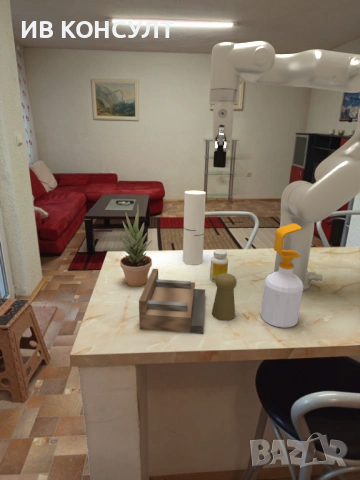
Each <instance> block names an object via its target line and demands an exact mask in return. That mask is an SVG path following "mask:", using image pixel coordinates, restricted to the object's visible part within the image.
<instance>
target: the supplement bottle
mask: <svg viewBox="0 0 360 480" xmlns="http://www.w3.org/2000/svg"><path fill="white" fill-rule="evenodd" d="M227 254H228V253H227V250H225V249H214V251H213V255H212V257H211V258H210V268H209V270H210V271H209V280H210V281H211V282H213V283H215V280H216V277H217V276H218V275H219V274H222V273H228V270H229V269H228V268H229V259H228V257H227Z"/></svg>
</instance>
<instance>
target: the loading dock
mask: <svg viewBox="0 0 360 480" xmlns="http://www.w3.org/2000/svg"><path fill="white" fill-rule="evenodd" d="M205 297H206V289H204V288H202V289H201V288H200V289H199V288H196V282H194V281H193V282H192V281H189V280H172V279H159V268H152V270H151V272H150V274H149V277H148V278H147V282H146V283H145V286H144V288H143V290H142V293H141V295H140V298H139V299H138V317H139V319H138V320H139V321H138V322H139V324H138V325H139V329H140V330H151V331H164V332H178V333H189V334H190V333H191V334H202V335H203V334H204V321H205V319H204V318H205V302H206V298H205Z"/></svg>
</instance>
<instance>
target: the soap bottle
mask: <svg viewBox="0 0 360 480" xmlns="http://www.w3.org/2000/svg"><path fill="white" fill-rule="evenodd" d="M301 229H302V228H301V227H300V226H299V225H297V224H295V223H293V224H289V225H286V226H283V227H280V226H279V227H278V228H277V229H276V230H275V234H274V241H273V242H274V243H273V249H274V251H275V252H277V253H278V254H279V255H280V256H281V258H282V259H284V260H283V262H280V263H279V269H278V271H277V272H274V271H273V273H272V272H271V273H272V274H270V273H269V274H270V275H269V274H268V275H267V276H266V278H265V280H264V282H263V290H262V291H263V292H262V300H261V307H260V308H261V309H260V316H261V318H262V320H263V321H264V322H265V323H267V324H268V325H271V326H274V327H277V328H292V327H295V325H297V324H298V322H299V321H298V320H299V316H300V309H301V303H302V298H303V292H304V291H303V283H302V281H301V280H300V279H299V278H298V277H297V276H296V275H294V274H293V267H294V265H293V264H292V263H291V260H293V259H294V258H299V257H300V255H299V254H298V253H297V252H296V251H294V250H282V248H283V241H284V237H285V236H286V235H287V234H290V233H293V232H296V231H299V230H301Z"/></svg>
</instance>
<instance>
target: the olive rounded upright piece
mask: <svg viewBox="0 0 360 480" xmlns="http://www.w3.org/2000/svg"><path fill="white" fill-rule="evenodd" d="M237 282H238V281H237V278H236V277H235V276H234V275H233V274H231V273H228V272H227V273H222V274H219V275H218V276H217V277H216V280H215V282H214V284H215V287H216V290H215V291H216V292H215V295H214V299H213V300H214V301H213V306H212V309H211V310H212V311H211V316H213V318H214V319H215V320H218V321H223V322H224V321H225V322H227V321H232V320H234V318H236V305H235V303H236V302H235V290H234V289H235V288H236V286H237Z"/></svg>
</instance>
